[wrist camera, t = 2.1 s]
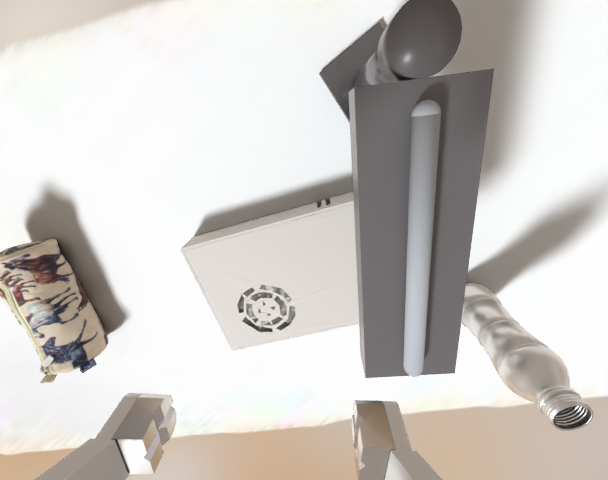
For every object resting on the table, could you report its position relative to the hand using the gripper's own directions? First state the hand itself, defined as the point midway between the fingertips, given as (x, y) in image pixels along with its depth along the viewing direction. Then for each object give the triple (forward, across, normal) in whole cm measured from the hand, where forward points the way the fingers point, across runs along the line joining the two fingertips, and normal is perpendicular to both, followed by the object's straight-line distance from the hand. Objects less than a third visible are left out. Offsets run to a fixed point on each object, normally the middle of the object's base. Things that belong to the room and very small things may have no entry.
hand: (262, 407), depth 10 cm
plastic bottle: (+32, -26, +16) cm, 44 cm away
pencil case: (+32, +38, +16) cm, 52 cm away
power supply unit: (+32, -2, +10) cm, 34 cm away
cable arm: (+15, -9, -2) cm, 18 cm away
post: (+31, -8, -14) cm, 35 cm away
